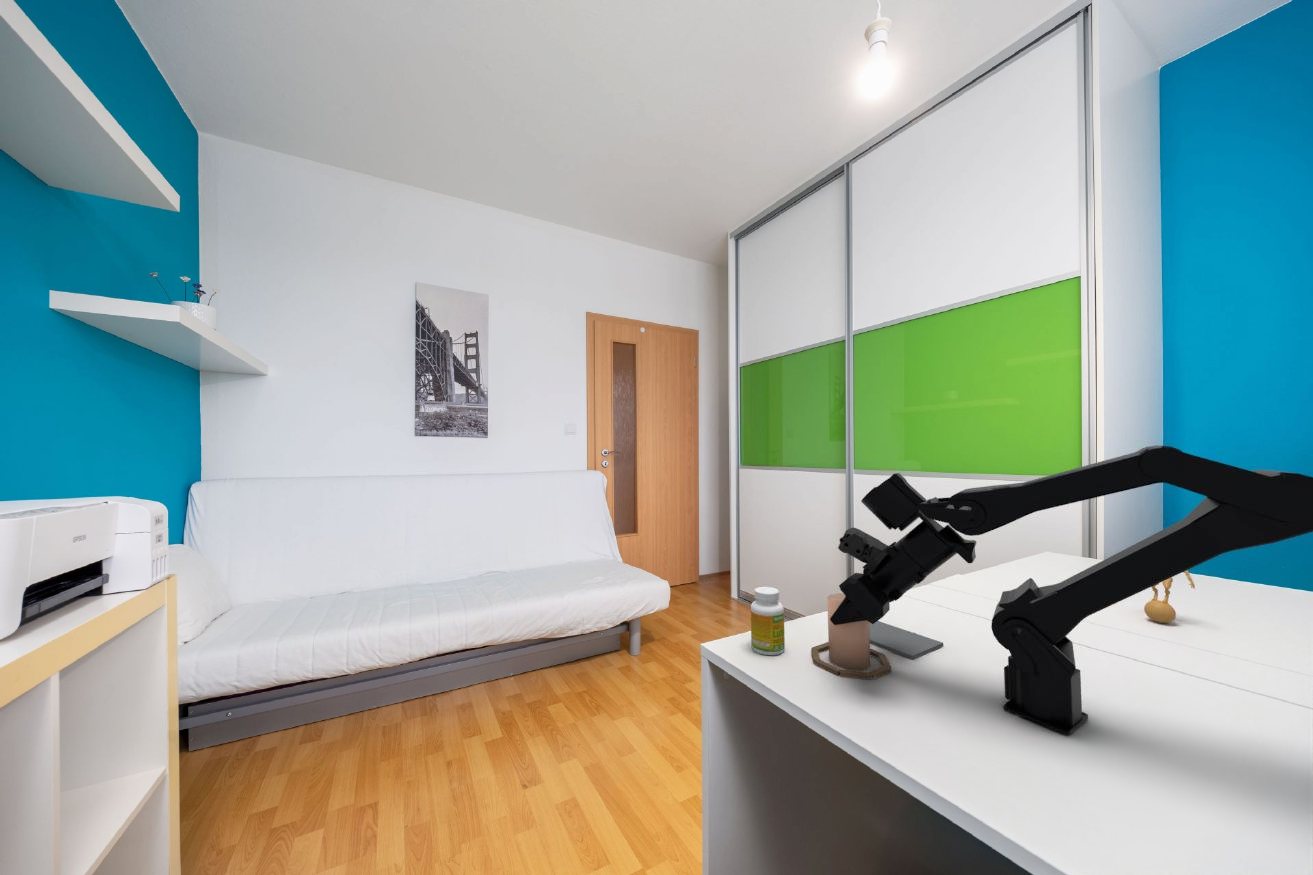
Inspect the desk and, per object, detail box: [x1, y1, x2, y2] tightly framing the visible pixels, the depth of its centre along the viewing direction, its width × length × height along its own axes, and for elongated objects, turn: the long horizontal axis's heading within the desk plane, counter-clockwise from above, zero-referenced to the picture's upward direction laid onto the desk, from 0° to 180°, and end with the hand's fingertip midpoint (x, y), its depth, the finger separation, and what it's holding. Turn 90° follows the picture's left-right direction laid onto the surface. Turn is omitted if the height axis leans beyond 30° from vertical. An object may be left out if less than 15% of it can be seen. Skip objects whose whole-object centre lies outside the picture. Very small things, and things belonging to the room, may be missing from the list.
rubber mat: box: [870, 620, 944, 660], centre depth 79 cm, size 12×9×1 cm
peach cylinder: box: [826, 593, 872, 671], centre depth 72 cm, size 6×6×10 cm
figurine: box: [1143, 570, 1196, 624], centre depth 86 cm, size 8×6×12 cm
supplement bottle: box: [750, 586, 786, 656], centre depth 76 cm, size 5×5×10 cm
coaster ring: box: [810, 641, 892, 680], centre depth 72 cm, size 11×11×1 cm
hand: (839, 616), depth 73 cm, fingers closed on peach cylinder, 6 cm apart
